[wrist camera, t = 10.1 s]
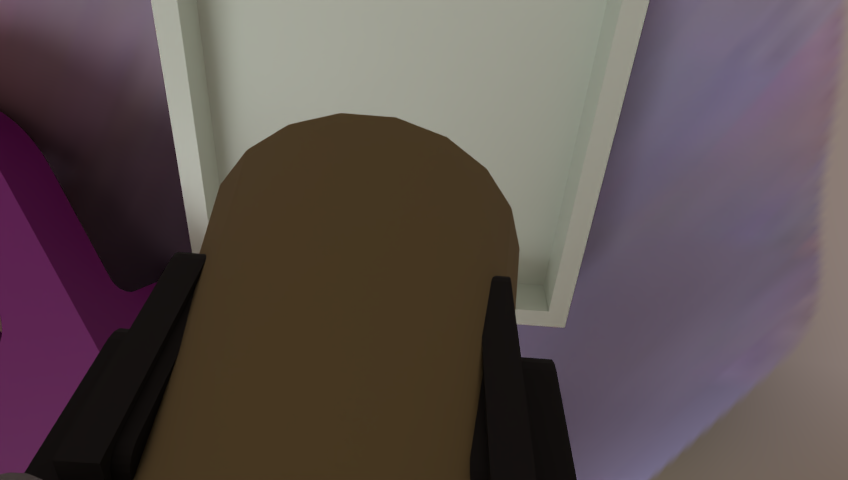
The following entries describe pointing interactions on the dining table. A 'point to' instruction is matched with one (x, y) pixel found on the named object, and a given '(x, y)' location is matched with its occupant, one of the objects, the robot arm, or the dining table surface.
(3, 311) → the mounting bracket
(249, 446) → the cork
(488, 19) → the tray
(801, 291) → the dining table surface
